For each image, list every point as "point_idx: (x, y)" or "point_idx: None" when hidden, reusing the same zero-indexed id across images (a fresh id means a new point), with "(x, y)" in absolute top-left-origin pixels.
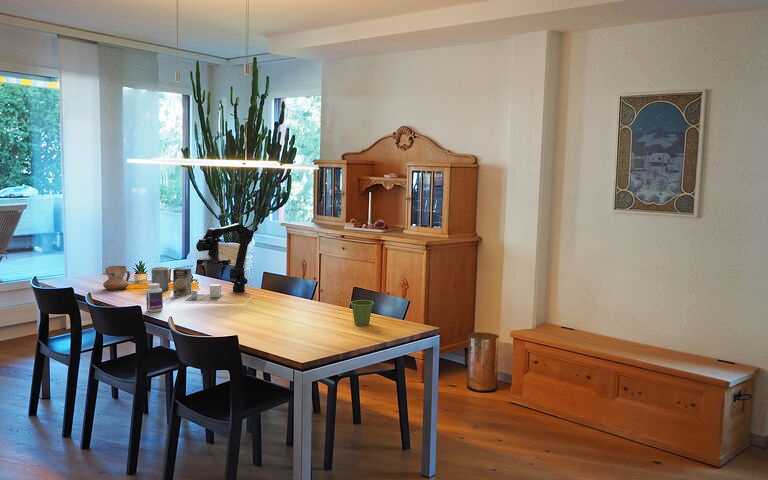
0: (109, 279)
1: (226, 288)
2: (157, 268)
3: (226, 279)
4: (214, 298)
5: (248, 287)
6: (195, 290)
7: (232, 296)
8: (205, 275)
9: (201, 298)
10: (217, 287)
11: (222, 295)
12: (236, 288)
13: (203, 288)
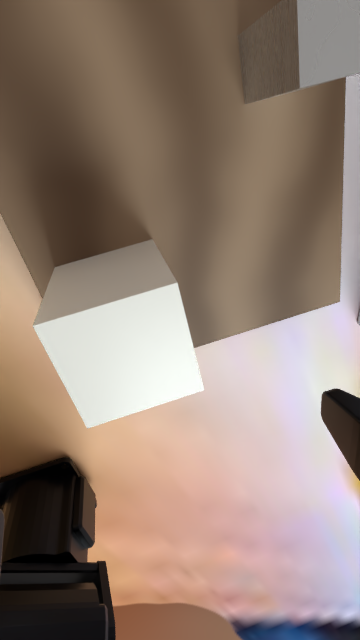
0: None
1: (210, 542)
2: None
3: (287, 631)
4: (55, 173)
5: None
6: (313, 20)
7: (22, 400)
8: (348, 397)
9: (200, 122)
10: (62, 306)
11: None
12: (40, 511)
13: (331, 493)
